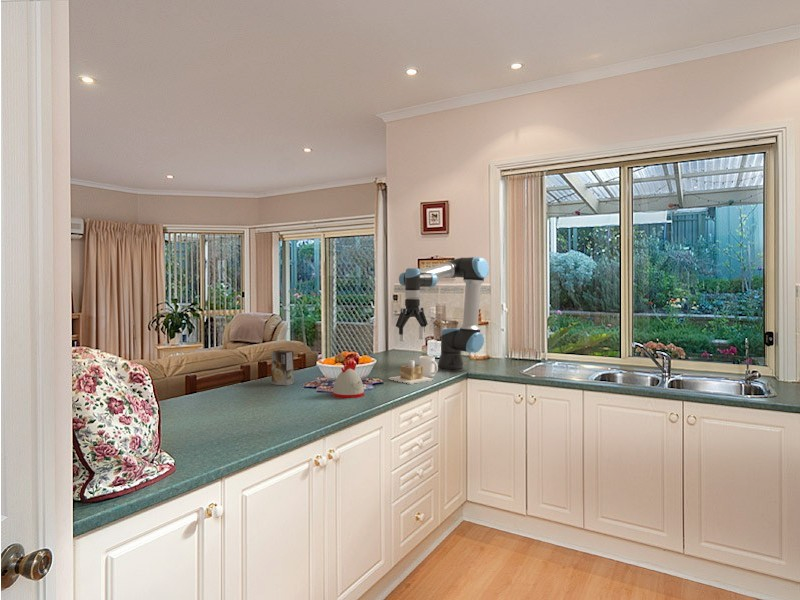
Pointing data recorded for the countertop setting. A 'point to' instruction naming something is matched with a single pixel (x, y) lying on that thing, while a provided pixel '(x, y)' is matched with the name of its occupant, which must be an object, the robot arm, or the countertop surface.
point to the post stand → (411, 365)
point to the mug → (428, 365)
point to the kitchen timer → (348, 383)
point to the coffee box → (282, 367)
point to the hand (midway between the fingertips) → (411, 340)
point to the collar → (411, 372)
